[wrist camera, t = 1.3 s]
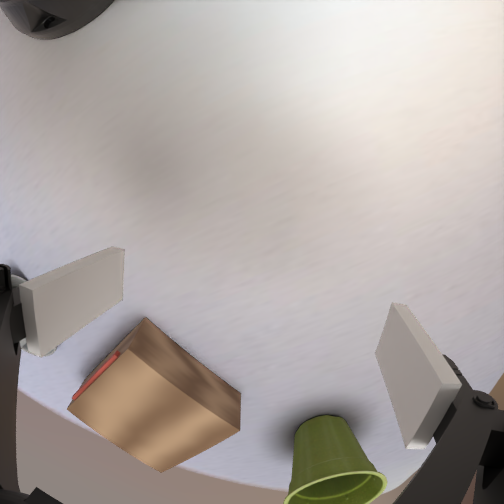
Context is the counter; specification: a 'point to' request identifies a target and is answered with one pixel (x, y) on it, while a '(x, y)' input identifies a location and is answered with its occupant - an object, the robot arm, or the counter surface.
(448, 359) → the robot arm
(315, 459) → the plant pot
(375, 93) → the counter surface
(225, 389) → the wooden box
